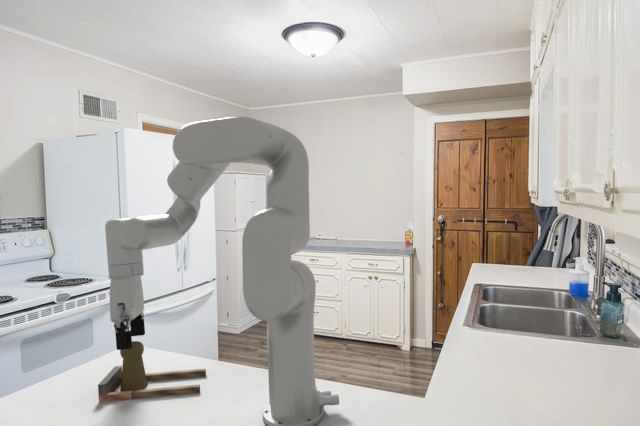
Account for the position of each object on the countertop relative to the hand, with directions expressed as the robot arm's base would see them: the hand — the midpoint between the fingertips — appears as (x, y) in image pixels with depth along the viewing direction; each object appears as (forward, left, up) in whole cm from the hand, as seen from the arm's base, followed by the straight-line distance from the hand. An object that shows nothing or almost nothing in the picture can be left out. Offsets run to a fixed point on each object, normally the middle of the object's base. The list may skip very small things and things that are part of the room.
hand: (131, 341), depth 98 cm
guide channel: (-5, 0, -12) cm, 13 cm away
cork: (0, -1, -12) cm, 12 cm away
